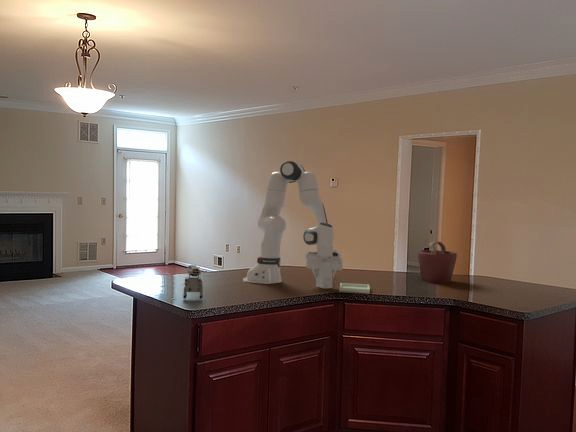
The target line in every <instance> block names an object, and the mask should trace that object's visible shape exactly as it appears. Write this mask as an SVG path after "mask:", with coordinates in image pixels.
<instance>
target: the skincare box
mask: <svg viewBox="0 0 576 432" xmlns="http://www.w3.org/2000/svg"><path fill="white" fill-rule="evenodd" d="M331 263H332V262H331V261H320V269H315V274H317V277H315V287H317V288H320V289H324V290H325V289H332V288H333V278H332V274H333V270H332V269H331Z"/></svg>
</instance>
